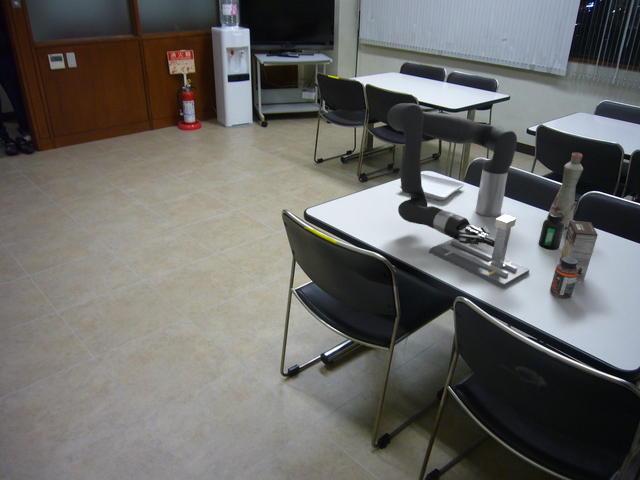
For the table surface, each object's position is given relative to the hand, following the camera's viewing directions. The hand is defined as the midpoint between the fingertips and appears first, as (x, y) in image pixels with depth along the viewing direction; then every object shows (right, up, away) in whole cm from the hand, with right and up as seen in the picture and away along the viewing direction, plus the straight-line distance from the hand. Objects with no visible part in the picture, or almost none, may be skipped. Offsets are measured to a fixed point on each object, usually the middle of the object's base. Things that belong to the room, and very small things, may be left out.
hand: (496, 243), depth 161 cm
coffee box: (+24, -9, +3) cm, 26 cm away
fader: (+1, -7, +2) cm, 7 cm away
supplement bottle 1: (+25, -1, +20) cm, 31 cm away
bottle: (+35, +7, +36) cm, 51 cm away
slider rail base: (-4, -6, +8) cm, 10 cm away
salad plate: (-6, +22, +64) cm, 68 cm away
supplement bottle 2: (+16, -15, -8) cm, 23 cm away
